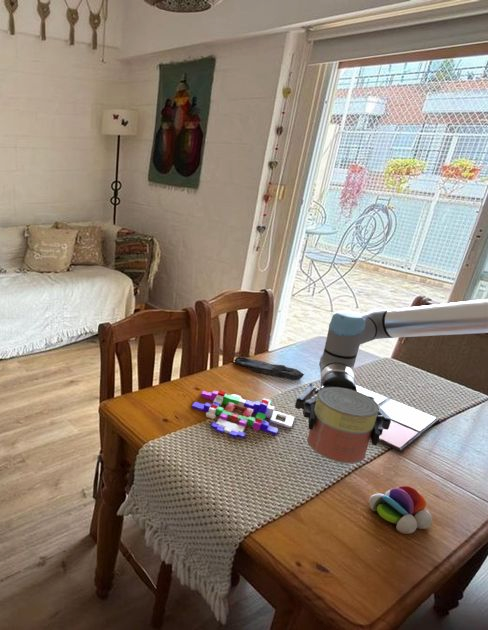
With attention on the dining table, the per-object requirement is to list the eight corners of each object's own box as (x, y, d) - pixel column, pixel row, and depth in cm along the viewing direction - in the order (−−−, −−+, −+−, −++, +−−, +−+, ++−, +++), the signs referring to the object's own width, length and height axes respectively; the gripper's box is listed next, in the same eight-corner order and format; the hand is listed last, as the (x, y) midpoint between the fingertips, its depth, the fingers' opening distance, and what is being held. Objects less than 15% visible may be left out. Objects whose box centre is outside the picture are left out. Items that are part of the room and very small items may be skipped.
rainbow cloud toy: (436, 529, 86) (448, 500, 83) (398, 541, 84) (409, 512, 81) (395, 498, 94) (404, 470, 91) (359, 508, 91) (368, 480, 88)
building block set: (182, 420, 120) (184, 406, 118) (206, 388, 135) (208, 375, 134) (281, 455, 106) (284, 440, 105) (295, 415, 122) (298, 401, 121)
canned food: (369, 444, 98) (383, 398, 94) (360, 471, 90) (374, 422, 86) (313, 425, 105) (324, 381, 101) (301, 448, 97) (311, 401, 93)
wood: (228, 367, 148) (229, 359, 147) (234, 358, 154) (235, 351, 153) (300, 386, 137) (302, 378, 136) (304, 376, 142) (305, 368, 141)
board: (438, 421, 120) (439, 418, 119) (399, 453, 107) (401, 449, 107) (346, 384, 138) (347, 380, 138) (304, 407, 126) (305, 404, 125)
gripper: (389, 409, 106) (406, 463, 88) (284, 386, 117) (279, 431, 98) (398, 382, 104) (416, 432, 86) (289, 361, 114) (285, 402, 96)
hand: (343, 431), depth 92 cm, fingers closed on canned food, 11 cm apart
